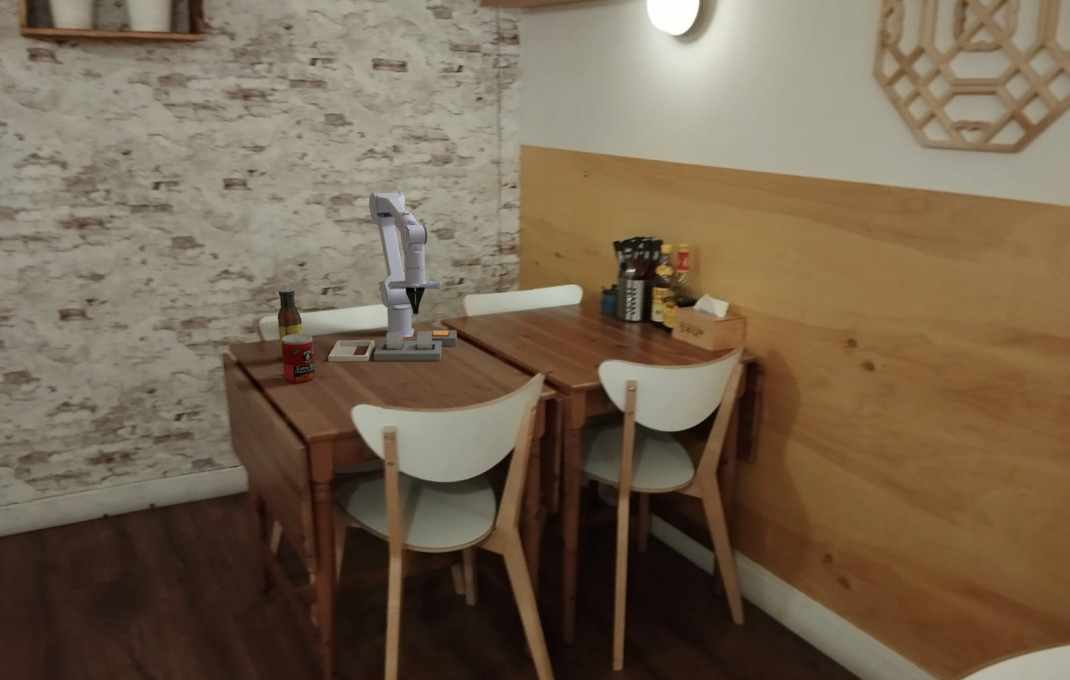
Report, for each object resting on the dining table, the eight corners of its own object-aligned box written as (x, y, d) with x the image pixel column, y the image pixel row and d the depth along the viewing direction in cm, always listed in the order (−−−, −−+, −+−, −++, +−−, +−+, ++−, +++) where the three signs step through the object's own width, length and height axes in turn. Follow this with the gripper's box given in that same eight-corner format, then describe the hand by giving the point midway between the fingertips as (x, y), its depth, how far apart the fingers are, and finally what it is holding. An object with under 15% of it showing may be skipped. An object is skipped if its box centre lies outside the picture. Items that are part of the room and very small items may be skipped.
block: (418, 351, 238) (418, 331, 236) (432, 351, 238) (432, 331, 236) (417, 355, 234) (417, 335, 232) (431, 355, 234) (431, 335, 233)
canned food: (297, 385, 210) (294, 343, 207) (277, 379, 214) (274, 338, 211) (321, 378, 215) (319, 337, 212) (301, 372, 220) (299, 332, 217)
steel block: (388, 351, 237) (388, 331, 235) (403, 351, 237) (402, 331, 236) (387, 356, 233) (386, 335, 232) (401, 356, 233) (401, 335, 232)
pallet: (379, 349, 241) (379, 340, 241) (442, 349, 243) (441, 340, 242) (374, 362, 229) (373, 353, 228) (440, 362, 230) (439, 353, 230)
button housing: (426, 339, 252) (426, 330, 251) (456, 339, 253) (456, 330, 252) (424, 348, 243) (424, 338, 242) (455, 348, 244) (455, 338, 243)
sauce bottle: (308, 357, 233) (304, 287, 227) (300, 364, 227) (295, 292, 221) (285, 356, 233) (281, 287, 228) (276, 363, 227) (271, 291, 222)
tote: (337, 347, 243) (337, 340, 242) (374, 347, 244) (374, 340, 243) (328, 363, 228) (328, 356, 227) (367, 363, 229) (367, 356, 228)
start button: (433, 340, 250) (433, 330, 249) (448, 340, 250) (448, 330, 249) (433, 344, 246) (433, 334, 245) (448, 344, 246) (448, 334, 245)
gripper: (387, 269, 233) (389, 316, 236) (439, 269, 234) (440, 316, 237) (390, 264, 239) (391, 310, 243) (440, 265, 240) (441, 310, 244)
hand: (415, 313), depth 241 cm, fingers closed
